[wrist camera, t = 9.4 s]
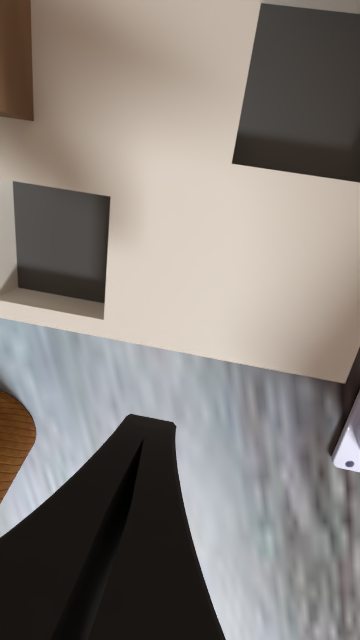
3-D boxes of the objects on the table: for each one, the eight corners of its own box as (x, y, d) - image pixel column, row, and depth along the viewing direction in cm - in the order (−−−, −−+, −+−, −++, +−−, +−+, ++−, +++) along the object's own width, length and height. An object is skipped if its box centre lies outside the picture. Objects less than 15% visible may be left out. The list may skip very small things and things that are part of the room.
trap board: (463, -5, 13) (577, -97, 9) (330, 359, 19) (359, 408, 15) (-73, -61, 14) (-197, -163, 10) (-32, 291, 20) (-99, 318, 16)
